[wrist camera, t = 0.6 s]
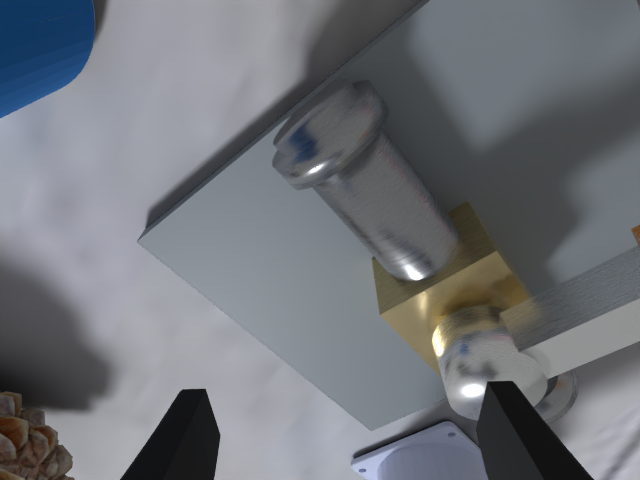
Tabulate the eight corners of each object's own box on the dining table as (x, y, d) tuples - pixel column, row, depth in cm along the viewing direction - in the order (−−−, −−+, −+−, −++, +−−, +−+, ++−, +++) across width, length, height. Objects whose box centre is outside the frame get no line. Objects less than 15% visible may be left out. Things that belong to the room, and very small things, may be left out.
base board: (716, 260, 20) (732, 273, 19) (369, 416, 27) (371, 431, 26) (572, -126, 13) (590, -132, 12) (144, 230, 20) (136, 242, 19)
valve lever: (458, 375, 17) (475, 432, 15) (416, 331, 16) (429, 386, 14) (808, 216, 13) (898, 265, 11) (791, 138, 12) (891, 177, 10)
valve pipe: (563, 338, 23) (607, 408, 19) (480, 375, 24) (506, 445, 21) (364, 50, 15) (376, 79, 11) (263, 134, 17) (246, 181, 13)
